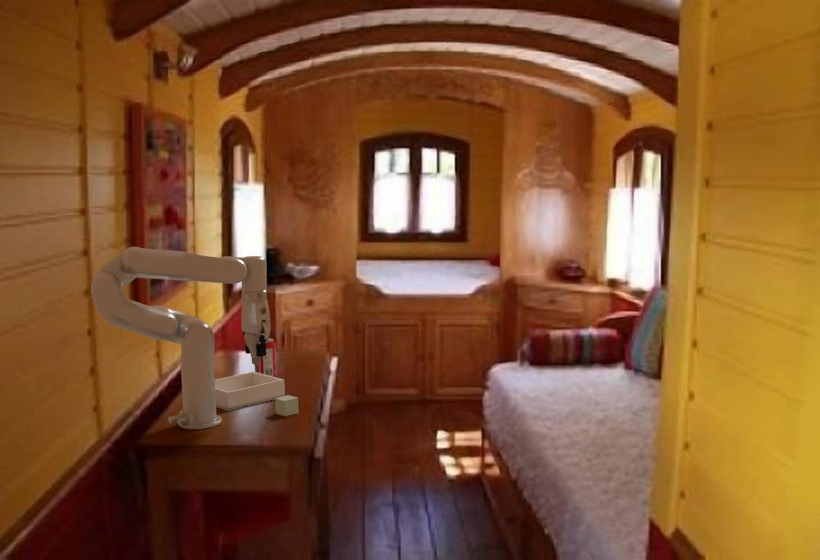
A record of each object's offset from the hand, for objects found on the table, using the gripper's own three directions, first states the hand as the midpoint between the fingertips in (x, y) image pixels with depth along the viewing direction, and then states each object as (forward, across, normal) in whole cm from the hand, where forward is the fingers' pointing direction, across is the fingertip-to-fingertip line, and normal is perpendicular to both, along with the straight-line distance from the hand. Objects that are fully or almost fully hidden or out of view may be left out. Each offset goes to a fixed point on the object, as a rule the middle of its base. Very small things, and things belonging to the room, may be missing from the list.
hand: (255, 354), depth 243 cm
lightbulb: (+4, 0, 0) cm, 4 cm away
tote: (+19, +19, -6) cm, 28 cm away
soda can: (+19, +37, -26) cm, 49 cm away
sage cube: (+19, -6, -8) cm, 21 cm away
